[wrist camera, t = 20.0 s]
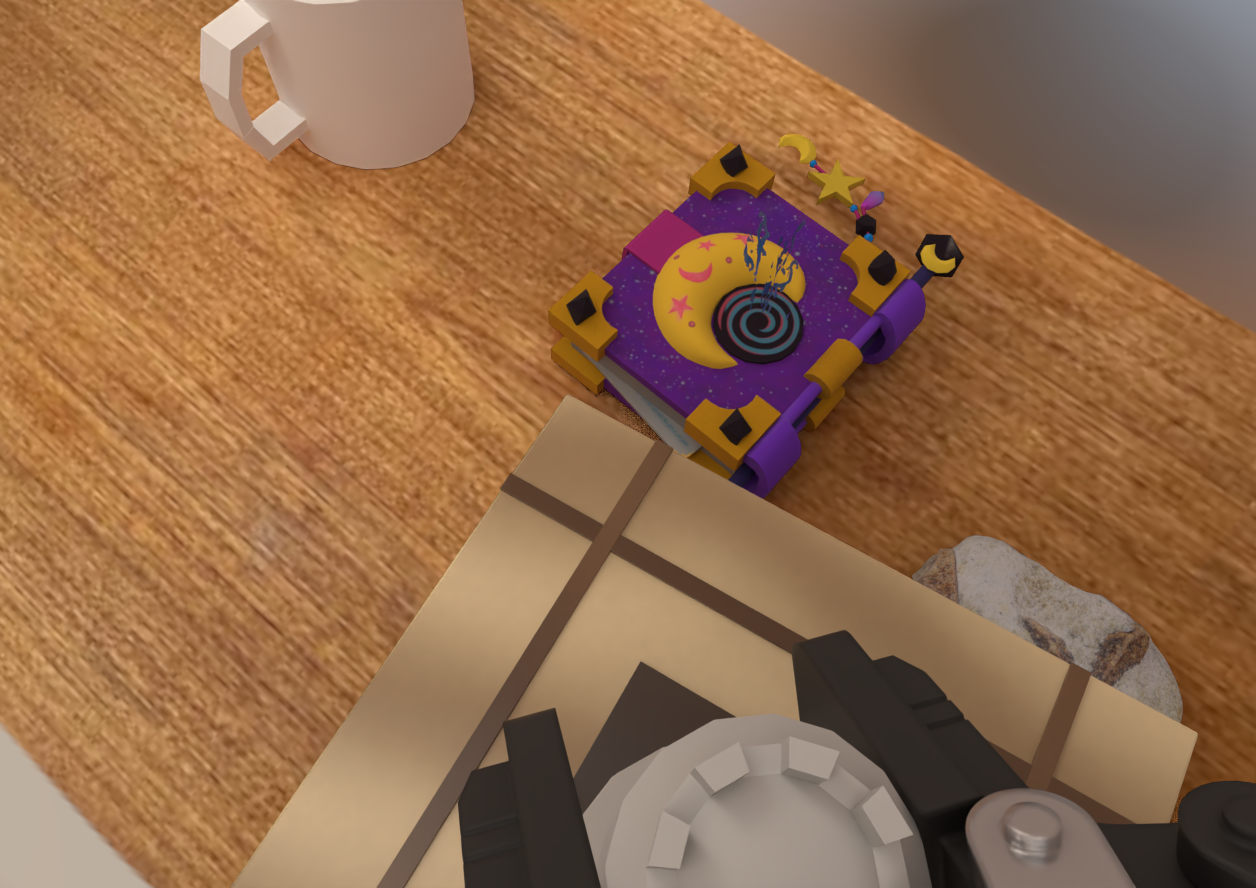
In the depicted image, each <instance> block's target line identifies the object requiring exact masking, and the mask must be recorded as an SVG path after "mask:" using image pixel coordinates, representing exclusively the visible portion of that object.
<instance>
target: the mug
mask: <svg viewBox="0 0 1256 888" xmlns="http://www.w3.org/2000/svg"><path fill="white" fill-rule="evenodd" d="M258 45H259V47H260V50H261V52H262V55H263V57H264V60H265V63H266V65H267V68H268V70H269V73H270V75H271V78H272V80H273V83H274V86H275V88H276V91H277V93H278V96H279V98H280V100H279V101H277V102H276V103H275V104H274V105H272V106H271V107H270V108H269V109H267V110H266V111H265V112H264V113H262V114H261V115H260V116H258V117H257V118H256V119H255V120H253V121H251V118H250V115H249V113H248V110H247V108H246V105H245V102H244V100H243V97H242V94H241V92H242V72H243V57H244V56H245V55H246V54H247V53H249V52H250V51H251V50H253V49H254V48H255V47H257V46H258ZM200 81H201V83H202V85H203V88H204V90H205V92H206V95H207V97H208V100H209V102H210V104H211V107H212V109H213V111H214V114H215V116H216V118H217V119H218V120H219V121H220V122H222V123H223V124H224V125H225V126H226V127H227V128H228V129H230V130H231V131H232V132H233V133H234V134H235V135H236V136H238V137H239V138H240V139H241V140H242V141H243V142H245V143H246V144H247V145H249V146H250V147H251V148H253V149H254V150H255V151H257V152H258V153H259V154H261V155H262V156H263V157H265V158H266V159H267V160H269V161H271V160H272V159H273V158H274V157H276V156H277V155H278V154H279V153H280V152H282V151H283V150H284V149H285V148H287V147H288V146H289V145H290V144H291V143H293V142H294V141H295V140H296V139H298V138H299V139H300V140H301V141H302V142H303V143H304V144H305V145H306V147H307V148H308V149H309V150H310V151H312V152H314V153H316V154H318V155H320V156H322V157H324V158H326V159H327V160H329V161H331V162H333V163H335V164H340V165H345V166H350V167H355V168H361V169H380V168H395V167H399V166H403V165H406V164H409V163H412V162H415V161H418V160H421V159H424V158H427V157H428V156H430V155H431V154H433V153H434V152H436V151H437V150H439V149H440V148H442V147H443V146H445V145H446V144H448V143H450V142H451V140H452V139H453V138H454V137H455V136H456V134H457V133H458V132H459V131H460V129H461V128H462V127H463V126H464V125H465V123H466V122H467V120H468V117H469V114H470V111H471V108H472V105H473V103H474V100H475V98H474V83H473V73H472V66H471V59H470V52H469V45H468V38H467V31H466V24H465V17H464V10H463V3H462V0H240V1H239V2H237V3H236V4H234V5H233V6H232V7H230V8H229V9H228V10H226V11H225V12H224V13H222V14H221V15H220V16H218V17H217V18H215V19H214V20H213V21H211V22H210V23H209V24H207V25H206V26H205V27H203V28H202V29H201V54H200Z"/></svg>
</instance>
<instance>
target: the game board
mask: <svg viewBox="0 0 1256 888" xmlns="http://www.w3.org/2000/svg"><path fill="white" fill-rule="evenodd" d="M500 489H501V491H500V493H499V494H498V496H497V497H496V498H495V500H494V501H493V503H492V504H491V506H490V507H489V509H488V510H487V512H486V513H485V515H484V516H483V518H482V519H481V520H480V522H479V523H478V525H477V526H476V528H475V529H474V531H473V532H472V534H471V535H470V537H469V538H468V540H467V541H466V542H465V544H464V545H463V547H462V548H461V550H460V551H459V553H458V554H457V556H456V557H455V559H454V560H453V562H452V563H451V564H450V566H449V567H448V569H447V570H446V572H445V573H444V575H443V576H442V578H441V579H440V581H439V582H438V584H437V585H436V586H435V588H434V589H433V591H432V592H431V594H430V595H429V597H428V598H427V600H426V601H425V603H424V604H423V606H422V607H421V608H420V610H419V611H418V613H417V614H416V616H415V617H414V619H413V620H412V622H411V623H410V625H409V626H408V628H407V629H406V630H405V632H404V633H403V635H402V636H401V638H400V639H399V641H398V642H397V644H396V645H395V647H394V648H393V650H392V651H391V652H390V654H389V655H388V657H387V658H386V660H385V661H384V663H383V664H382V666H381V667H380V669H379V670H378V672H377V673H376V674H375V676H374V677H373V679H372V680H371V682H370V683H369V685H368V686H367V688H366V689H365V691H364V692H363V694H362V695H361V696H360V698H359V699H358V701H357V702H356V704H355V705H354V707H353V708H352V710H351V711H350V713H349V714H348V716H347V717H346V718H345V720H344V721H343V723H342V724H341V726H340V727H339V729H338V730H337V732H336V733H335V735H334V736H333V738H332V739H331V740H330V742H329V743H328V745H327V746H326V748H325V749H324V751H323V752H322V754H321V755H320V757H319V758H318V760H317V761H316V762H315V764H314V765H313V767H312V768H311V770H310V771H309V773H308V774H307V776H306V777H305V779H304V780H303V782H302V783H301V784H300V786H299V787H298V789H297V790H296V792H295V793H294V795H293V796H292V798H291V799H290V801H289V802H288V804H287V805H286V806H285V808H284V809H283V811H282V812H281V814H280V815H279V817H278V818H277V820H276V821H275V823H274V824H273V826H272V827H271V828H270V830H269V831H268V833H267V834H266V836H265V837H264V839H263V840H262V842H261V843H260V845H259V846H258V848H257V849H256V850H255V852H254V853H253V855H252V856H251V858H250V859H249V861H248V862H247V864H246V865H245V867H244V868H243V870H242V871H241V872H240V874H239V875H238V877H237V878H236V880H235V881H234V883H233V884H232V886H231V887H230V888H465V883H464V871H463V865H464V863H463V859H462V848H461V834H460V824H459V813H458V800H459V798H460V796H461V793H462V791H463V789H464V786H465V784H466V782H467V780H468V777H469V775H470V773H471V771H473V770H477V769H480V768H484V767H487V766H491V765H495V764H498V763H502V762H505V761H509V759H508V753H507V747H506V741H505V735H504V729H503V721H507V720H511V719H514V718H518V717H522V716H525V715H529V714H533V713H536V712H540V711H544V710H547V709H551V708H555V709H556V712H557V716H558V720H559V724H560V728H561V732H562V736H563V740H564V744H565V748H566V752H567V756H568V760H569V763H570V767H571V771H572V775H573V779H574V783H575V787H576V791H577V795H578V799H579V803H580V807H581V811H582V815H583V814H584V812H585V811H586V810H587V808H588V807H589V806H590V805H591V803H592V802H593V801H594V799H595V798H596V797H597V796H598V794H599V793H600V792H601V790H602V789H603V788H604V786H605V785H606V784H607V783H608V781H609V780H610V779H611V777H612V776H614V775H616V774H617V773H618V772H620V771H622V770H624V769H625V768H627V767H629V766H631V765H632V764H634V763H636V762H638V761H639V760H641V759H643V758H645V757H647V756H648V755H650V754H652V753H654V752H655V751H657V750H659V749H661V748H662V747H667V746H669V745H671V744H672V743H674V742H676V741H678V740H679V739H681V738H683V737H685V736H686V735H688V734H690V733H692V732H694V731H695V730H697V729H699V728H701V727H702V726H704V725H706V724H708V723H709V722H711V721H713V720H716V719H726V718H735V717H744V716H754V715H763V714H773V713H774V714H778V715H781V716H784V717H788V718H791V719H794V720H798V721H800V718H799V710H798V702H797V694H796V686H795V677H794V669H793V661H792V647H793V644H794V643H797V642H801V641H804V640H808V639H812V638H815V637H819V636H823V635H827V634H830V633H834V632H838V631H841V630H847V631H848V632H849V633H850V634H851V635H852V636H853V637H854V639H855V640H856V641H857V642H858V643H859V645H860V646H861V647H862V648H863V650H864V651H865V652H866V653H867V654H868V656H869V657H870V658H871V659H872V660H877V659H880V658H884V657H887V656H891V655H894V656H896V657H898V658H900V659H902V660H904V661H906V662H907V663H909V664H911V665H913V666H915V667H917V668H919V669H921V670H923V671H925V672H926V673H927V674H928V675H929V676H930V677H931V679H932V680H933V681H934V682H935V683H936V684H937V685H938V686H939V688H940V689H941V690H942V691H943V692H944V693H945V694H946V696H947V699H948V700H951V701H952V702H953V703H954V704H955V705H956V707H957V708H958V709H959V710H960V711H961V712H962V713H963V714H964V718H965V720H967V719H968V720H969V721H970V722H971V723H972V724H973V726H974V727H975V728H976V729H977V730H978V731H979V732H980V733H981V734H982V736H983V737H984V738H985V739H986V740H987V741H988V742H989V743H990V745H991V746H992V747H993V748H994V749H995V750H996V751H997V752H998V753H999V755H1000V756H1001V757H1002V758H1003V759H1004V760H1005V761H1006V762H1007V764H1008V765H1009V766H1010V767H1011V768H1012V769H1013V770H1014V771H1015V773H1016V774H1017V775H1018V776H1019V777H1020V778H1021V779H1022V780H1023V781H1024V783H1025V784H1026V785H1027V786H1028V787H1029V788H1030V789H1037V790H1043V791H1047V792H1051V793H1054V794H1057V795H1059V796H1062V797H1064V798H1066V799H1068V800H1070V801H1072V802H1074V803H1076V804H1077V805H1078V806H1080V807H1081V808H1083V809H1084V810H1085V811H1086V812H1087V813H1088V814H1089V815H1090V816H1091V817H1092V818H1093V819H1094V821H1095V822H1097V823H1105V824H1151V823H1169V822H1170V819H1171V816H1172V813H1173V810H1174V807H1175V804H1176V801H1177V798H1178V795H1179V792H1180V789H1181V786H1182V783H1183V779H1184V776H1185V773H1186V770H1187V767H1188V764H1189V761H1190V758H1191V755H1192V752H1193V749H1194V746H1195V743H1196V740H1197V737H1198V733H1197V732H1195V731H1193V730H1191V729H1190V728H1188V727H1186V726H1184V725H1182V724H1180V723H1178V722H1177V721H1175V720H1173V719H1171V718H1169V717H1167V716H1165V715H1163V714H1162V713H1160V712H1158V711H1156V710H1154V709H1152V708H1150V707H1149V706H1147V705H1145V704H1143V703H1141V702H1139V701H1137V700H1136V699H1134V698H1132V697H1130V696H1128V695H1126V694H1124V693H1123V692H1121V691H1119V690H1117V689H1115V688H1113V687H1111V686H1110V685H1108V684H1106V683H1104V682H1102V681H1100V680H1098V679H1097V678H1095V677H1093V676H1091V674H1092V673H1091V672H1089V671H1087V670H1086V669H1084V668H1082V667H1080V666H1078V665H1076V664H1074V663H1071V664H1069V663H1067V662H1065V661H1063V660H1061V659H1059V658H1058V657H1056V656H1054V655H1052V654H1050V653H1048V652H1046V651H1044V650H1043V649H1041V648H1039V647H1037V646H1035V645H1033V644H1031V643H1030V642H1028V641H1026V640H1024V639H1022V638H1020V637H1018V636H1017V635H1015V634H1013V633H1011V632H1009V631H1007V630H1005V629H1004V628H1002V627H1000V626H998V625H996V624H994V623H992V622H991V621H989V620H987V619H985V618H983V617H981V616H979V615H978V614H976V613H974V612H972V611H970V610H968V609H966V608H965V607H963V606H961V605H959V604H957V603H955V602H953V601H952V600H950V599H948V598H946V597H944V596H942V595H940V594H939V593H937V592H935V591H933V590H931V589H929V588H927V587H925V586H924V585H922V584H920V583H918V582H916V581H914V580H912V579H911V578H909V577H907V576H905V575H903V574H901V573H899V572H898V571H896V570H894V569H892V568H890V567H888V566H886V565H885V564H883V563H881V562H879V561H877V560H875V559H873V558H872V557H870V556H868V555H866V554H864V553H862V552H860V551H859V550H857V549H855V548H853V547H851V546H849V545H847V544H846V543H844V542H842V541H840V540H838V539H836V538H834V537H833V536H831V535H829V534H827V533H825V532H823V531H821V530H820V529H818V528H816V527H814V526H812V525H810V524H808V523H806V522H805V521H803V520H801V519H799V518H797V517H795V516H793V515H792V514H790V513H788V512H786V511H784V510H782V509H780V508H779V507H777V506H775V505H773V504H771V503H769V502H767V501H766V500H764V499H762V498H760V497H758V496H756V495H754V494H753V493H751V492H749V491H747V490H745V489H743V488H741V487H740V486H738V485H736V484H734V483H732V482H730V481H728V480H727V479H725V478H723V477H721V476H719V475H717V474H715V473H714V472H712V471H710V470H708V469H706V468H704V467H702V466H701V465H699V464H697V463H695V462H693V461H691V460H689V459H688V458H686V457H684V456H682V455H680V454H678V453H676V452H674V451H673V448H672V447H670V446H669V445H667V444H665V443H663V442H661V441H659V440H656V441H654V440H652V439H650V438H648V437H647V436H645V435H643V434H641V433H639V432H637V431H635V430H634V429H632V428H630V427H628V426H626V425H624V424H622V423H621V422H619V421H617V420H615V419H613V418H611V417H609V416H608V415H606V414H604V413H602V412H600V411H598V410H596V409H595V408H593V407H591V406H589V405H587V404H585V403H583V402H582V401H580V400H578V399H576V398H574V397H572V396H570V395H568V394H567V395H566V396H565V397H564V399H563V400H562V402H561V403H560V405H559V406H558V408H557V409H556V411H555V412H554V413H553V415H552V416H551V418H550V419H549V421H548V422H547V424H546V425H545V427H544V428H543V430H542V431H541V433H540V434H539V435H538V437H537V438H536V440H535V441H534V443H533V444H532V446H531V447H530V449H529V450H528V452H527V453H526V455H525V456H524V457H523V459H522V460H521V462H520V463H519V465H518V466H517V468H516V469H515V471H514V472H513V474H512V473H510V475H509V476H508V478H507V479H506V481H505V482H504V484H503V485H502V487H501V488H500Z"/></svg>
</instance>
